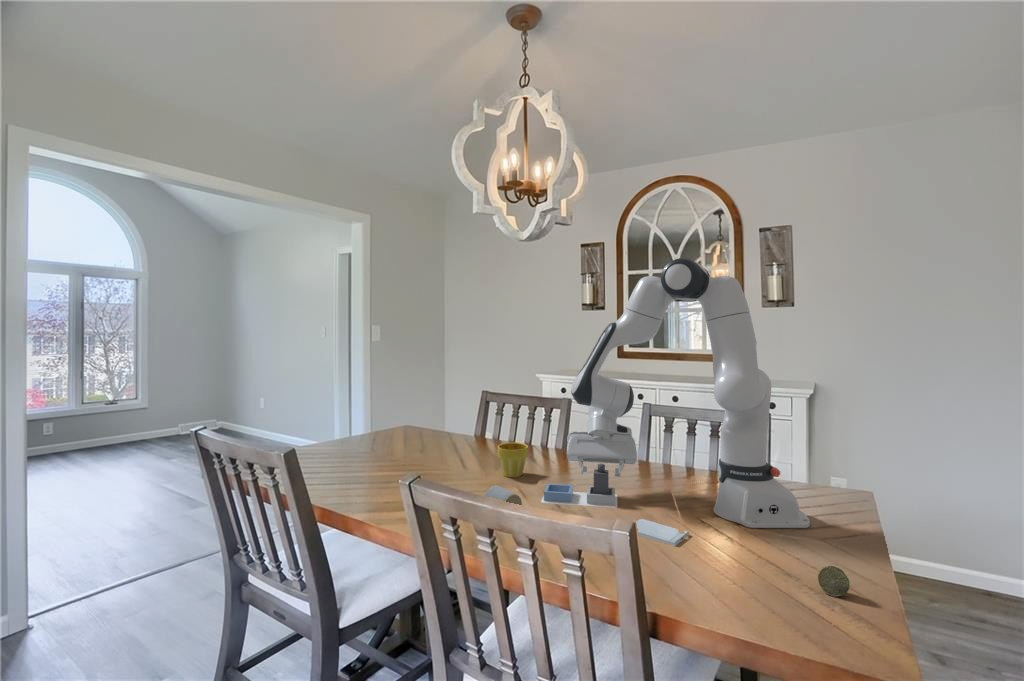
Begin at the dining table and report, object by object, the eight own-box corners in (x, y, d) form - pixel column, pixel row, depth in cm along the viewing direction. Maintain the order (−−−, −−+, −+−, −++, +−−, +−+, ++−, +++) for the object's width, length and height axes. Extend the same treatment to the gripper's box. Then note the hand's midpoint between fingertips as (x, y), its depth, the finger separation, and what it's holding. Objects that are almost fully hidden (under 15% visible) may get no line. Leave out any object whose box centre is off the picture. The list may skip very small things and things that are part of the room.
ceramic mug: (504, 526, 127) (504, 495, 127) (482, 517, 133) (482, 488, 133) (532, 515, 135) (532, 486, 135) (509, 507, 141) (510, 480, 141)
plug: (608, 497, 145) (608, 463, 145) (608, 502, 141) (608, 467, 141) (594, 497, 146) (594, 462, 146) (593, 501, 142) (593, 466, 142)
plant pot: (526, 479, 166) (526, 450, 165) (495, 478, 167) (494, 449, 167) (530, 471, 176) (529, 442, 176) (500, 469, 177) (500, 441, 177)
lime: (853, 600, 92) (853, 573, 92) (824, 598, 93) (824, 571, 93) (841, 588, 97) (842, 562, 97) (814, 586, 98) (814, 560, 98)
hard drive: (625, 527, 124) (675, 541, 115) (641, 517, 130) (689, 530, 122) (625, 534, 124) (675, 548, 115) (641, 524, 130) (689, 537, 122)
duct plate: (617, 497, 148) (617, 486, 148) (617, 511, 137) (617, 498, 137) (545, 493, 152) (545, 481, 152) (540, 506, 141) (540, 493, 141)
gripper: (567, 425, 153) (563, 466, 144) (636, 428, 149) (637, 471, 140) (568, 437, 158) (564, 477, 148) (636, 440, 153) (636, 482, 144)
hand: (600, 474), depth 144 cm, fingers open, 8 cm apart
